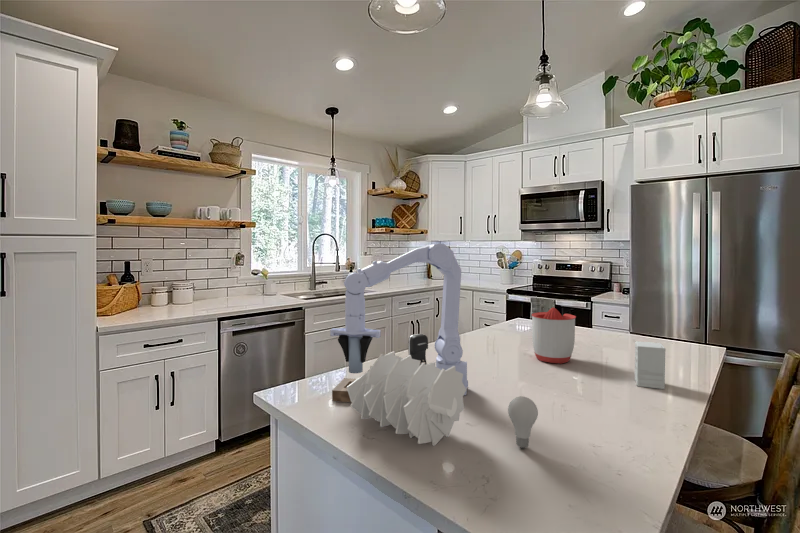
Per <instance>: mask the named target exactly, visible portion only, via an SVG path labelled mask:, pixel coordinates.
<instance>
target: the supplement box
mask: <svg viewBox="0 0 800 533" xmlns="http://www.w3.org/2000/svg"><path fill="white" fill-rule="evenodd" d="M666 350H667V349H666V348H665V346H664V345H663V344H662V343H661V342H653V341H652V342H651V341H650V342H649V341H637V340H636V341H634V381H635V383H636V386H637V387H641V388H648V389H649V388H650V389H658V390H665V388H666V387H665V382H666V378H665V377H666V376H665V375H666Z"/></svg>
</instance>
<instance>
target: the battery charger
mask: <svg viewBox="0 0 800 533" xmlns="http://www.w3.org/2000/svg"><path fill="white" fill-rule="evenodd" d="M407 344H408V346H407V350H408V355H411V357H412V359H415V360H420V365H421V364H422V362H423V363H425V365H426V364H428V363H427V359H426V358H427V357H426V356H427V355H426V353H427V352H426V351H427V350H428V349H429V338H428V336H427V335H426V334H424V333H416V334H415V333H414V334H411V335H410V336H409V337H408V342H407Z"/></svg>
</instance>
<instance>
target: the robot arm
mask: <svg viewBox="0 0 800 533" xmlns="http://www.w3.org/2000/svg"><path fill="white" fill-rule="evenodd" d="M371 263H372V264H370V265H367V266H366V267H363V268H362V269H361V268H360V267H359V268H358V269H357V270H356V271H357V272H351V273H349V274H348V275H347V276H346V277H345V279H344V282H343V285H344V287H345V289H346V290H345V292H344V293H345V294H344V295H345V299H344V313H345V315H344V318H345V319H344V322H345V323H344V324H345V325H344V326H345V327H339V328H338V327H337V328H335V327H333V328H331V329H330V330H329V334H330V335H329V336H330V337H338V338H337V342H338V344H339V346H340V348H341V350H342V352H343V355H344V360H345V362H347V363H349V336H354V337H362V338H361V339H360V344H361V363H363V364H364V363H365V362H366V359H367V354H368V350H369V347H370V346H371V345H370V344H371V342H372V340H373V338H375V339H379V338H381V333H382V330H381V329H372V328H366V298H365V289H366V288H371V287H374V286H375V285H377V284H380V283H383V282H384V281H386V280H389V279H390V276H391V273H394V272H395V271H398V270H400V269H403V268H405V267H408V266H410V265H413V264H416V263H426V264H429V265H431V266H433V267H434V268H436V270H438V271H439V272H440V273H441V274H442V275H443V284H442V285H443V286H442V301H441V318H440V328H439V329H438V334H437V338H436V340H435V342H434V349H435V350H434V351H436V353H437V356H436V359H435V365H436V367H437V368H439V369H440V370H442V369H445V370H447V369H449V368H451V367H452V366H455V368H456V371H457V372H460V373H462V374H463V378H462V382H463V384H464V386H465V388H466V392H465V394H464V395H463V396H466V395H467V392H468V390H467V389H468V387H469V380H468V361H465V360H464V361H463V360H461V359H462V357H463V352H464V350H463V346H462V345H461V336H460V332H459V314H460V301H461V300H460V298H461V286H462V285H461V283H462V268H461V266H460V264H459V263H458V260H457V258H456V257H455V255H454V251H453V250H452V249H451V248H450V247H449V246H447V244H444V243H441V242H440V243H429V244H427V245H423V246H420V247H417V248H413V249H412V250H410V251H408V252H406V253H404V254H401V255H400V256H398V257H396V258H394V259H391V260H389V261H387V262H386V261H383V260H379V261H377V260H374V261H372V262H371Z"/></svg>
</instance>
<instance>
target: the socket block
mask: <svg viewBox="0 0 800 533" xmlns="http://www.w3.org/2000/svg"><path fill="white" fill-rule="evenodd" d="M356 379H357V378H345V377H344V378H343V379H342V380H341V381H339V383H338V384H337V385H336V386H335V387H334V388H333V389H332V390H331V400H332V402H342V403H343V402H345V403H352V402H351V400H350V397H349V393H348V390H347V386H348V385H350V384H351V383H352V382H354V381H355V380H356Z"/></svg>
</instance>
